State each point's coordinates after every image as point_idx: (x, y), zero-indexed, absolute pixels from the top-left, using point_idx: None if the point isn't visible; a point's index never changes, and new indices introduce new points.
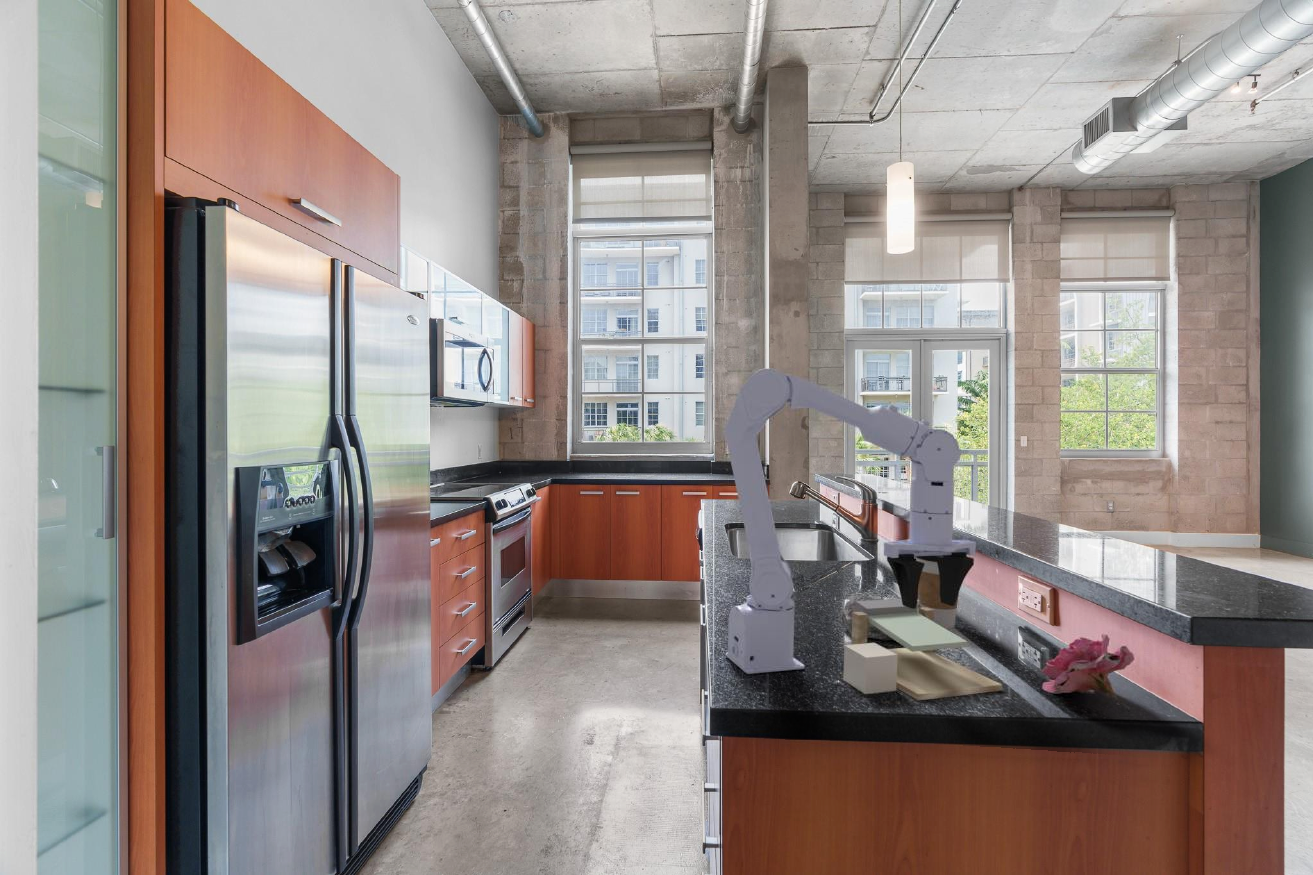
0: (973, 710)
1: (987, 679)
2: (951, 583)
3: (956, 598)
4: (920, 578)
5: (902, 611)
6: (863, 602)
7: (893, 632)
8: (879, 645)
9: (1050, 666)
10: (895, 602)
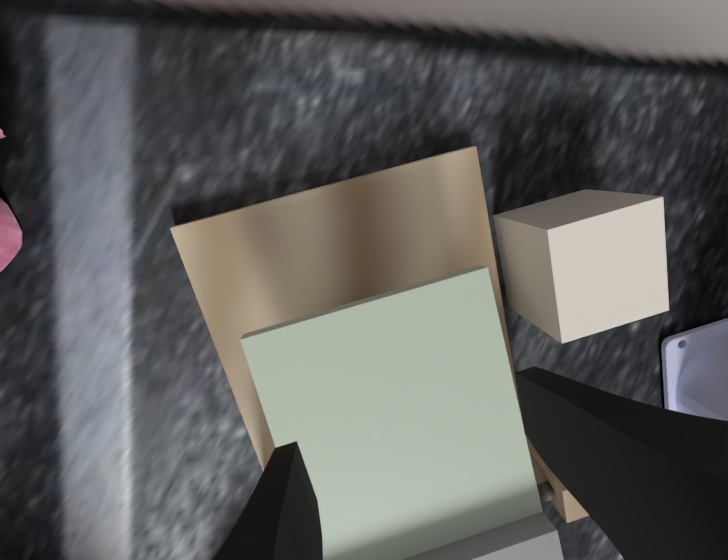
0: (344, 78)
1: (197, 268)
2: (294, 551)
3: (268, 466)
4: None
5: None
6: None
7: (506, 376)
8: (558, 318)
9: None
10: None
